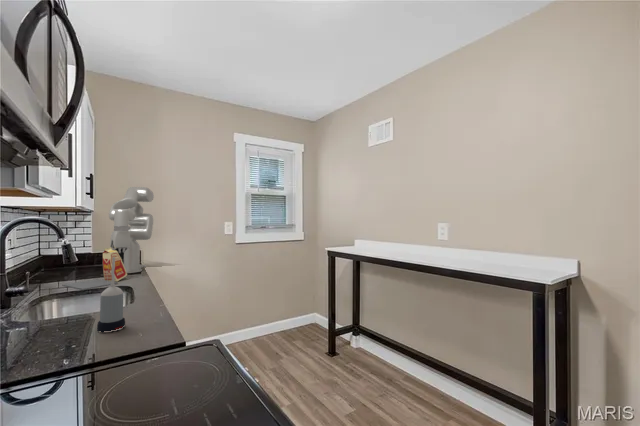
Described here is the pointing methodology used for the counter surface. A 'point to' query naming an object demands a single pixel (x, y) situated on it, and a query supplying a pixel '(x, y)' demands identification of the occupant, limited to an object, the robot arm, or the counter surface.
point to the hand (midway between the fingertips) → (120, 259)
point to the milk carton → (107, 265)
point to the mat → (89, 284)
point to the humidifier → (111, 306)
